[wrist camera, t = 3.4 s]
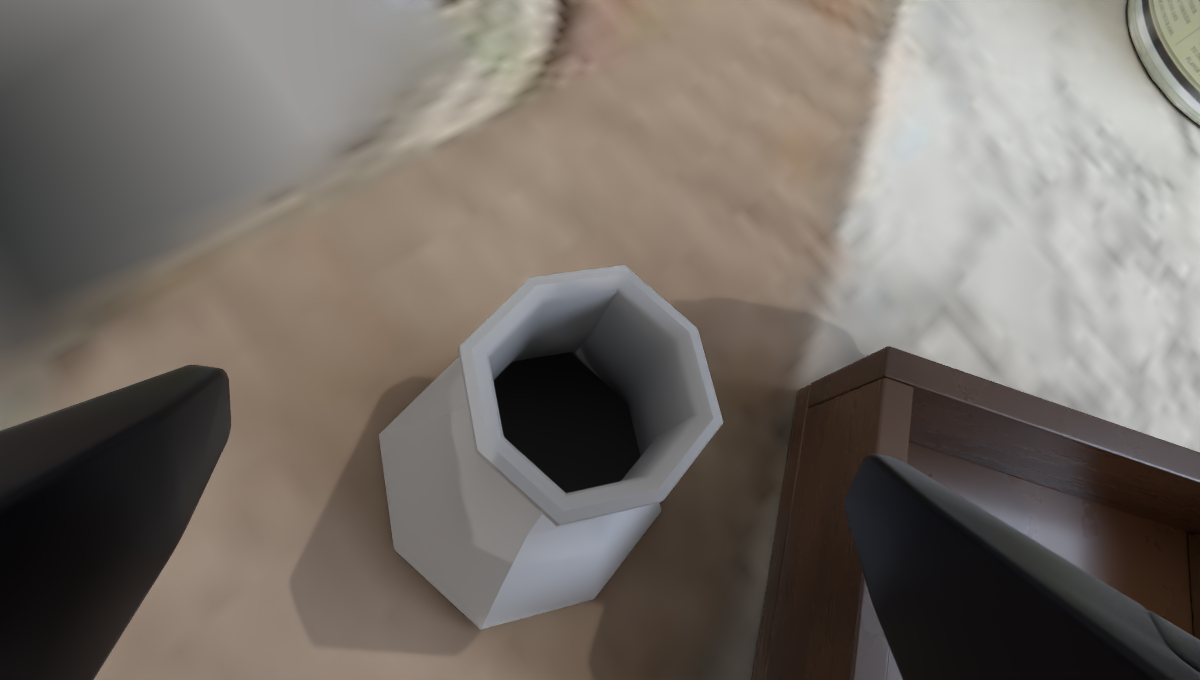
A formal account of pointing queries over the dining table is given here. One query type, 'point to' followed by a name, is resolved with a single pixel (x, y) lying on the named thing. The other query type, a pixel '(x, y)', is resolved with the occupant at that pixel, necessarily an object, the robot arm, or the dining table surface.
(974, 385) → the crate
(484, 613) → the flask
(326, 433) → the dining table surface
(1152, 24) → the coffee can
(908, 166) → the dining table surface
